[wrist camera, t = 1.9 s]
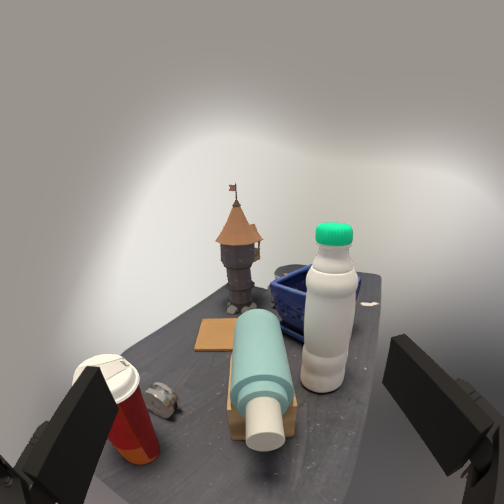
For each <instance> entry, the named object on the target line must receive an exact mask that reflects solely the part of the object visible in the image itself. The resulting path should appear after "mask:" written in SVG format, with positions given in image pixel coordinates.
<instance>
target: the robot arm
mask: <svg viewBox="0 0 504 504" xmlns="http://www.w3.org/2000/svg"><path fill="white" fill-rule="evenodd" d="M382 383H383V385H384V386H385V387H386V388H387V390H388V391H389V393H390V394H391V396H392V397H393V398H394V400H395V401H396V402H397V404H398V405H399V407H400V408H401V410H402V411H403V412H404V414H405V415H406V417H407V418H408V420H409V421H410V422H411V424H412V425H413V427H414V428H415V429H416V431H417V432H418V434H419V435H420V437H421V438H422V440H423V441H424V442H425V444H426V445H427V447H428V448H429V450H430V451H431V452H432V454H433V456H434V457H435V459H436V460H437V462H438V463H439V465H440V466H441V468H442V469H443V471H444V472H445V474H446V475H447V476H450V475H451V474H453V473H454V472H456V471H457V470H459V469H460V468H462V467H463V466H464V464H465V463H466V462H467V461H468V459H470V461H471V462H472V463H471V464H470V465H469V466H468V467H467V469H466V470H465V471H464V472H463V473H462V475H461V478H463V477H464V476H465V475H466V474H467V473H468V475H467V477H466V478H467V482H466V487H465V492H464V496H463V501H462V504H504V417H503V416H502V415H501V414H500V413H499V412H498V411H497V410H496V409H495V408H494V407H493V406H492V405H491V404H490V403H489V402H488V401H487V400H486V399H485V398H484V397H481V395H480V393H479V392H476V390H475V389H474V388H473V387H472V386H471V385H470V384H469V383H468V382H466V381H464V380H461V379H459V378H458V379H456V380H453V379H452V378H451V377H450V376H449V375H448V374H447V373H446V372H445V371H444V370H443V369H442V368H441V367H439V366H438V364H436V363H435V362H434V361H433V360H432V359H431V358H430V357H429V356H428V355H427V354H426V353H425V352H424V351H423V350H422V349H421V348H419V347H418V346H417V345H416V344H415V343H414V342H413V341H412V340H411V339H410V338H409V337H408V336H407V335H405V334H402V335H398V336H395V337H392V338H391V342H390V348H389V353H388V358H387V363H386V368H385V372H384V377H383V381H382ZM118 411H119V408H118V406H117V404H116V402H115V400H114V398H113V396H112V394H111V391H110V389H109V387H108V385H107V383H106V381H105V378H104V376H103V374H102V372H101V369H100V367H96V366H86V367H85V368H84V370H83V371H82V373H81V374H80V376H79V377H78V378H77V380H76V381H75V383H74V384H73V386H72V387H71V389H70V390H69V392H68V393H67V395H66V396H65V398H64V399H63V401H62V402H61V404H60V405H59V407H58V409H57V410H56V412H55V413H54V415H53V416H52V418H51V420H50V421H45V422H44V423H42V424H41V425H40V426H39V427H38V428H37V429H36V431H35V433H34V434H33V437H32V438H31V439H30V441H29V444H27V446H26V447H25V449H24V451H23V452H22V454H21V456H20V458H19V459H18V461H17V463H16V465H15V466H14V468H12V467H11V466H10V465H9V464H8V463H7V461H5V459H4V458H3V457H2V456H1V455H0V504H55V503H56V502H57V503H58V504H83V503H84V500H85V497H86V494H87V491H88V488H89V486H90V483H91V480H92V477H93V474H94V472H95V469H96V466H97V464H98V461H99V458H100V456H101V453H102V450H103V448H104V445H105V443H106V440H107V438H108V435H109V433H110V430H111V428H112V426H113V423H114V421H115V418H116V416H117V414H118Z"/></svg>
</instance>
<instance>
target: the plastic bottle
mask: <svg viewBox="0 0 504 504" xmlns="http://www.w3.org/2000/svg"><path fill="white" fill-rule="evenodd" d="M293 398H294V387H293V383H292V378H291V373H290V369H289V364H288V359H287V355H286V350H285V345H284V341H283V336H282V331H281V327H280V323H279V320H278V318H277V317H276V316H275V315H274V314H273V313H271V312H269V311H267V310H264V309H252V310H249V311H246V312H245V313H243V314H242V315H240V317H239V318H238V319H237V321H236V323H235V328H234V342H233V356H232V371H231V386H230V400H231V402H232V404H233V406H234V407H235V408H236V409H238V411H239V413H240V414H241V415H242V416H243V417H244V418H246V444H247V446H248V447H249V448H251V449H253V450H256V451H271V450H275V449H277V448H279V447H281V446H282V445H283V444H284V442H285V434H284V427H283V420H282V415H283V414H284V413H285V412H286V411H287V409H288V406H289V405H290V404H291V402H292V401H293Z"/></svg>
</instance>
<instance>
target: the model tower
mask: <svg viewBox="0 0 504 504" xmlns="http://www.w3.org/2000/svg"><path fill="white" fill-rule="evenodd" d="M229 186H230V189H229V191H236V184H235V185H229ZM240 206H241V205H240V204H239V202H238V200H237V192H236V200H235V202H234V204H233V208H232V210H231V213H230V215H229V217H228V220H227V222H226V224H225V226H224V228H223V230H222V232H221V233H220V235H219V237H218V238H217V239H216V242H219V243H220V244H221V245H220V246H221V261H222V262H223V264H224V267H226V268H227V277H228V283H227V285H226V288H227V289H229V293H230V302H229V303H228V304H227V306H226V307H228V308H227V313H229V314H236V313H238V312H239V313H245V312H246V311H249V310H252V309H257V306H256V304H255V302H253V300H252V288H253V287H254V284H255V283H254V282H253V281H252V280H251V272H250V267H251V265H252V263H253V262H255V261H257V260H259V259H260V248H259V246H260V241H261V240H263V239H262V238H261V236H260V235H259V233H258V232H257V229H256V227H255V224H251V225H249V223H248V221H247V220H246V217H245V215H244V213H243V211H242V209H241V207H240ZM255 242H258V248H254V243H255ZM255 249H256V250H255ZM255 251H256V254H255Z"/></svg>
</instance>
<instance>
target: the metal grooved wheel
mask: <svg viewBox="0 0 504 504" xmlns="http://www.w3.org/2000/svg"><path fill="white" fill-rule="evenodd" d="M142 397H143V399H144V402H145V404H146V405H147V407H148V408H149V409H150V410H151V411H152V412H154V413H155V414H156V415H158V416H160V417H162V418H169V417H170V416H171V415H172V414H173V413H174V410H176V409H177V408H178V407H179V405H180V400H179V397H178V396H177V394H176V393H175V392H174V391H173V390H172V389H171V388H170V387H169V386H167V385H165V384H163V383H160V382H156V383H153V384H152V385H151V386H150V388H149V389H147V390H146V391H144V392H143V393H142Z"/></svg>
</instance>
